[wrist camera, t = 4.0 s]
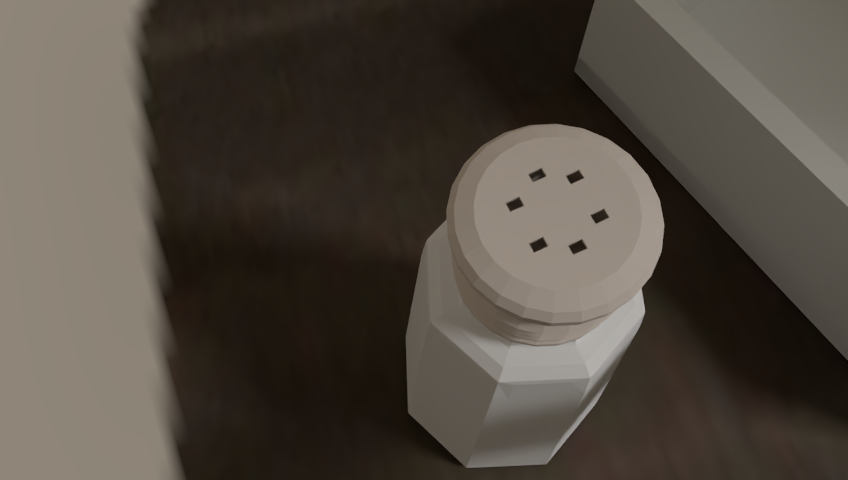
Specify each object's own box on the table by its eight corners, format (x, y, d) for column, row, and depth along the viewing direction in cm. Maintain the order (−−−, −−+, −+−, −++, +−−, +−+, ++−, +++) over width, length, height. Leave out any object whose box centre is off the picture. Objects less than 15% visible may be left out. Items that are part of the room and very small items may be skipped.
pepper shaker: (368, 324, 20) (281, 123, 9) (538, 247, 20) (631, -20, 10) (452, 511, 18) (458, 516, 7) (635, 419, 18) (871, 308, 8)
